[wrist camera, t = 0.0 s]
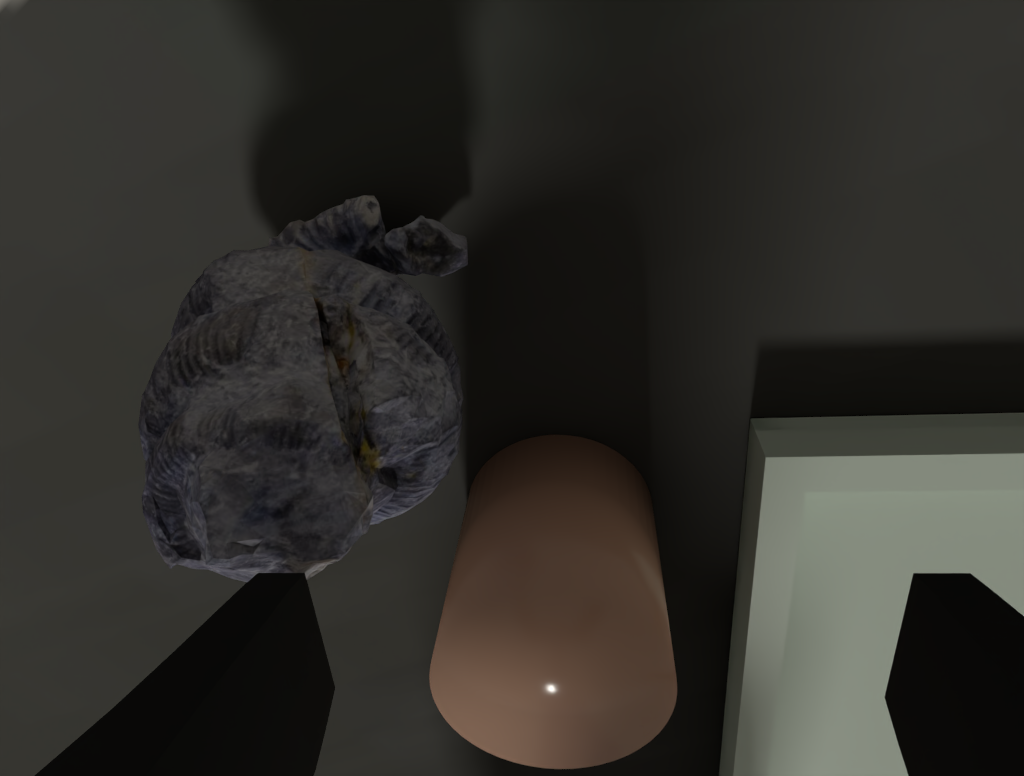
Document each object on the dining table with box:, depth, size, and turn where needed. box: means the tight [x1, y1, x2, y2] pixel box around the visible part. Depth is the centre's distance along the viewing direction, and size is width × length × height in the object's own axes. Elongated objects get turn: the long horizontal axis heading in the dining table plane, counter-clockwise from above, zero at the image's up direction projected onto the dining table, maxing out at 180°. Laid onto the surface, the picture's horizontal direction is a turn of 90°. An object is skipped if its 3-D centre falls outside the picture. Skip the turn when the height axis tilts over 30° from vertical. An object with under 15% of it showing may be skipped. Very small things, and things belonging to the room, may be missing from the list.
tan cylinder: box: [429, 435, 677, 769], centre depth 18 cm, size 5×5×6 cm
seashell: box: [139, 195, 468, 582], centre depth 14 cm, size 5×5×10 cm
